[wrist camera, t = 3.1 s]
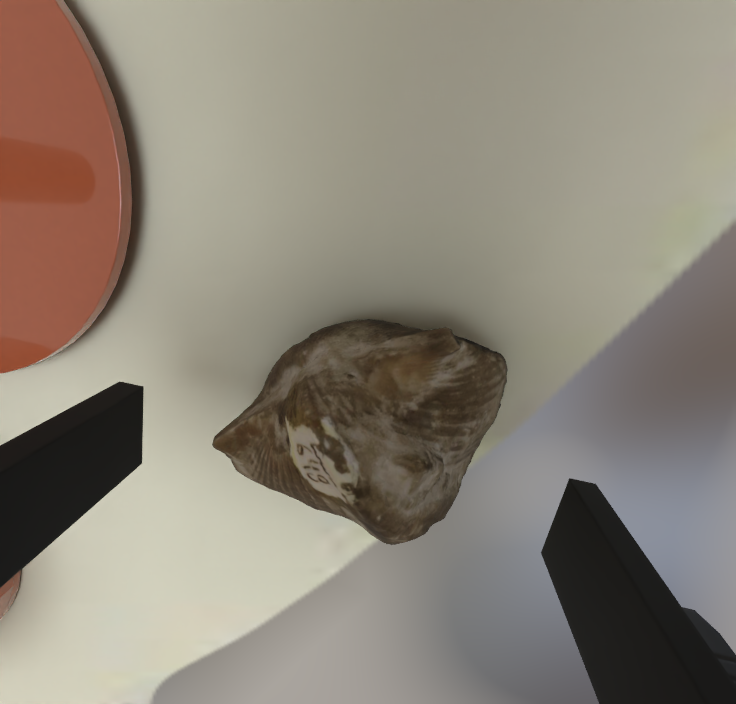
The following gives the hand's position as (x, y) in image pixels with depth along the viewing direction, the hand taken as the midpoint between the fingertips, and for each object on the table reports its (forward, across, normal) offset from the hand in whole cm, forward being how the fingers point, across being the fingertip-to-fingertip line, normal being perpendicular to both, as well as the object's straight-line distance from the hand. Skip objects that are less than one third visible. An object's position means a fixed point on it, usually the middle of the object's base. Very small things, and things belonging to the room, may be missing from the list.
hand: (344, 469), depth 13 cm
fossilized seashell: (+5, 0, 0) cm, 5 cm away
